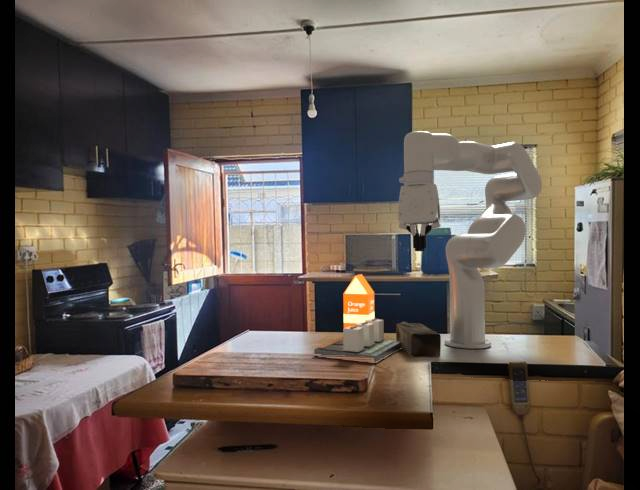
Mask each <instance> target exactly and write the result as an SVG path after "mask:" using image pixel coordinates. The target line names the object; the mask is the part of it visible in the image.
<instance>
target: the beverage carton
mask: <svg viewBox="0 0 640 490" xmlns="http://www.w3.org/2000/svg"><path fill="white" fill-rule="evenodd" d="M395 331H396V332H395V337H396V338H395V341H401V342H402V350H404V351H405V352H406V353H407V354H408V355H409V356H410V357H412V358H440V357H441V347H442V345H441V344H442V343H441V340H442V339H441V337H442V335H441V334H440V333H438V332H437V331H435V330H433V329H431V328H429V327H427V326H426V325H424V324H422V323H419V322H418V323H414V322H411V323H408V322H407V321H402V322H399V323H396V326H395Z"/></svg>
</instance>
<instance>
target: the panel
mask: <svg viewBox="0 0 640 490" xmlns="http://www.w3.org/2000/svg"><path fill="white" fill-rule="evenodd" d="M400 348H402V342H401V341H396V340H394V339H393V340H391V339H389V340H388V339H387V340H386V339H385V338H384V339H383V340H381V341H379V342H377V341H374V344H373V345H371V346H369V347H368V346H364V349H363V350H361V351H359V352H353V351H344V350H343V336H342V337H339V338H337V339H335V340H331V341H329V342H327V343H324V344H322V345H319V346H317V347H316V348H314V349H313V350H314V354H321V355H345V356H365V357H372V358H374V360H375V362H376V361H378V360H380V359H381V358H384V357H385V356H387V355H389V354H391V353H393V352H395V351H397V350H399V349H400ZM402 349H403V348H402ZM399 351H400V350H399ZM397 352H398V351H397ZM314 354H313V355H314Z"/></svg>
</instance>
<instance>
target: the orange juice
mask: <svg viewBox="0 0 640 490" xmlns="http://www.w3.org/2000/svg"><path fill="white" fill-rule="evenodd" d="M342 297H343V299H342V300H343V301H342V302H343V317H342V318H343V328H346V327H349V326H351V327H353V326H355V324H357V323H360V322H361V323H364V322H365V321H366V320H368V319H375V318H376V316H375V314H376V313H375V291H374V290H373V288H372V287H371V285H370V284H369V282H368V281H367V280H366V278H365V277H364V275H363V273H361V274H357V275H355V276H354V277H353V279H352V280H351V282H350V283H349V285H348V286H347V288H346V289H345V291H344V292H343V296H342Z"/></svg>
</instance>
